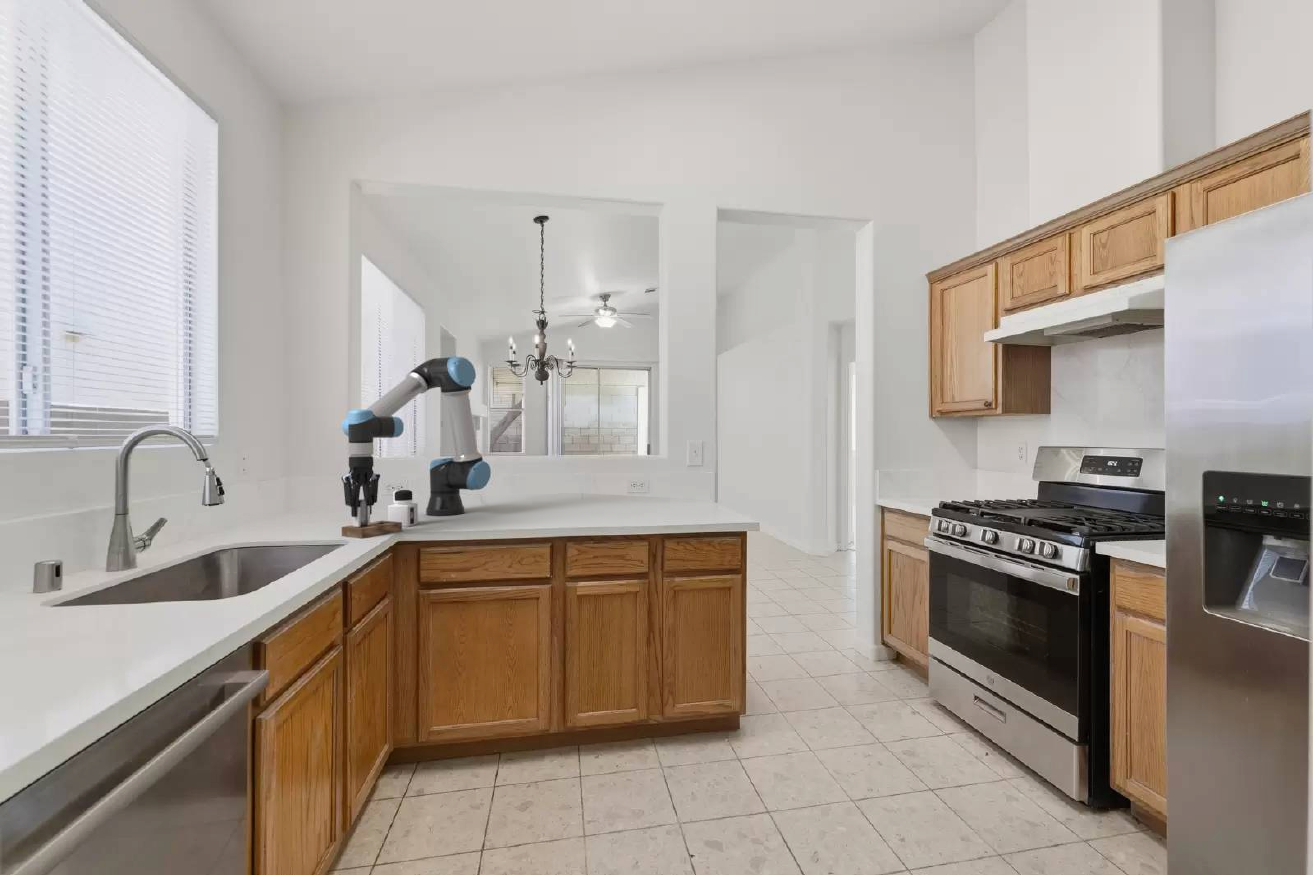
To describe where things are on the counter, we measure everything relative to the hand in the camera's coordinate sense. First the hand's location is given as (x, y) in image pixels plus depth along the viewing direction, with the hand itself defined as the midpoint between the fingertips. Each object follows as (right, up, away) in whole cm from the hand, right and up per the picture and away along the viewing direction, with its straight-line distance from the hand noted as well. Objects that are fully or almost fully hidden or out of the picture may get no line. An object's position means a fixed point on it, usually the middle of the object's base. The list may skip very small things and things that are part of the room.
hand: (361, 525), depth 210 cm
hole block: (+2, -3, +4) cm, 5 cm away
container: (+5, -3, +21) cm, 22 cm away
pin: (0, -3, 0) cm, 3 cm away
